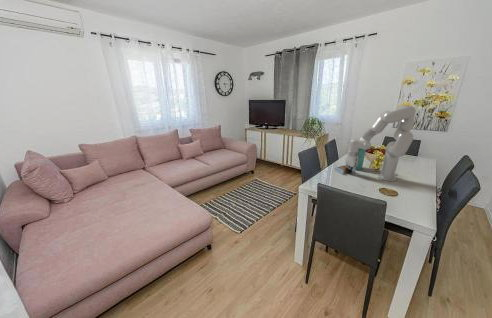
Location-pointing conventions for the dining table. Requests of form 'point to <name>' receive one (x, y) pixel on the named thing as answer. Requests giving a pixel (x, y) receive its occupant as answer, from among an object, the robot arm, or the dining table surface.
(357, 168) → the milk carton
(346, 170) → the block
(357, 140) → the robot arm
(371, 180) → the dining table surface
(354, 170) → the bay
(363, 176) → the dining table surface
